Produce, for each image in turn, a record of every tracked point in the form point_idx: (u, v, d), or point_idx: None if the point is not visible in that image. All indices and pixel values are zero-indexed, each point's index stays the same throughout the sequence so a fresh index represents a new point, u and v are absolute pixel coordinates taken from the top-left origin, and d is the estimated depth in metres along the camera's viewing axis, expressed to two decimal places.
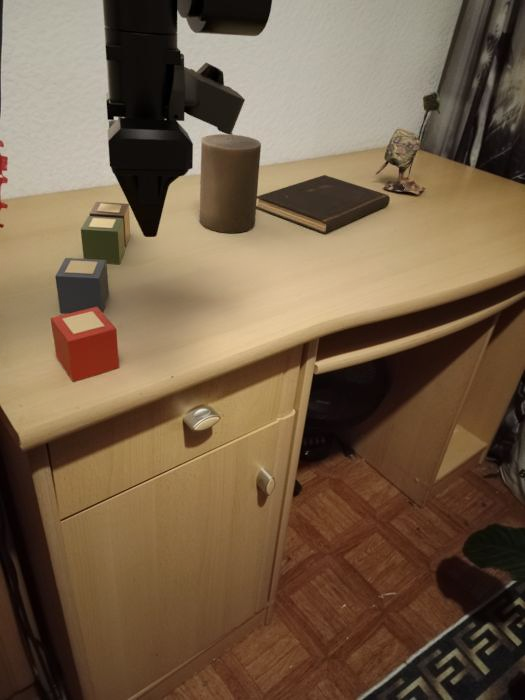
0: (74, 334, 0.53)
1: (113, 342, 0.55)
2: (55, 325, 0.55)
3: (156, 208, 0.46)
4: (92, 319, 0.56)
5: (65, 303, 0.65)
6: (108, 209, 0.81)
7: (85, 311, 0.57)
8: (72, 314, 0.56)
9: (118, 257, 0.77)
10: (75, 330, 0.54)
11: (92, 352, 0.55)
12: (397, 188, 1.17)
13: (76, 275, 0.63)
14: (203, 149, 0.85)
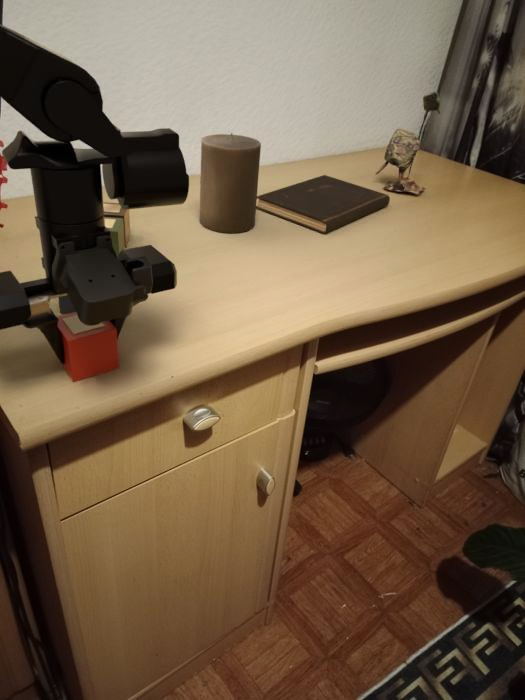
0: (74, 334, 0.53)
1: (113, 342, 0.55)
2: None
3: (49, 343, 0.53)
4: None
5: (65, 303, 0.65)
6: (108, 209, 0.81)
7: None
8: (72, 314, 0.56)
9: None
10: (75, 330, 0.54)
11: (92, 352, 0.55)
12: (397, 188, 1.17)
13: None
14: (203, 149, 0.85)
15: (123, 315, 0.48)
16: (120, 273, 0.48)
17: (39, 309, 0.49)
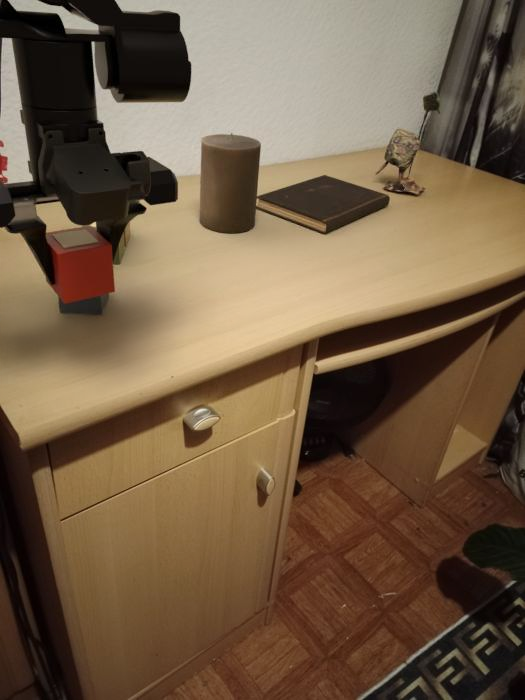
0: (65, 248, 0.48)
1: (108, 260, 0.50)
2: None
3: (37, 258, 0.48)
4: (84, 236, 0.51)
5: (65, 303, 0.65)
6: None
7: (77, 229, 0.52)
8: (63, 231, 0.51)
9: (118, 257, 0.77)
10: (66, 244, 0.49)
11: (85, 270, 0.49)
12: (397, 188, 1.17)
13: None
14: (203, 149, 0.85)
15: (118, 216, 0.43)
16: (114, 168, 0.42)
17: (24, 212, 0.44)
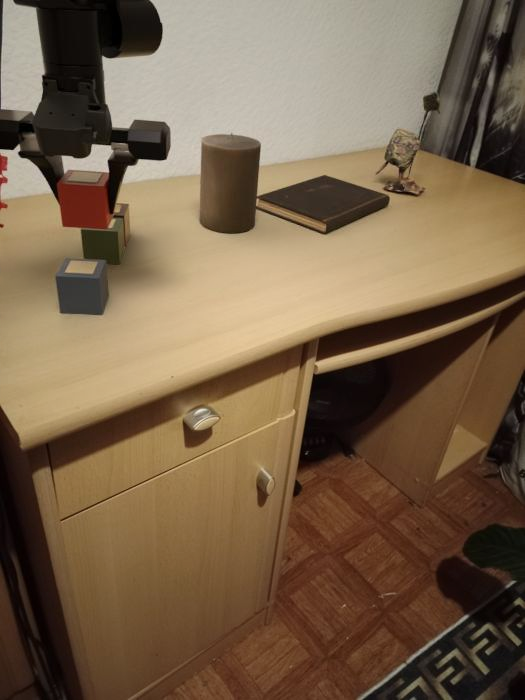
0: (68, 181, 0.59)
1: (100, 200, 0.60)
2: None
3: None
4: (94, 177, 0.61)
5: (65, 303, 0.65)
6: None
7: (98, 172, 0.62)
8: (85, 171, 0.62)
9: (118, 257, 0.77)
10: (71, 179, 0.60)
11: (80, 203, 0.60)
12: (397, 188, 1.17)
13: (76, 275, 0.63)
14: (203, 149, 0.85)
15: (75, 155, 0.52)
16: (81, 114, 0.51)
17: (32, 143, 0.56)
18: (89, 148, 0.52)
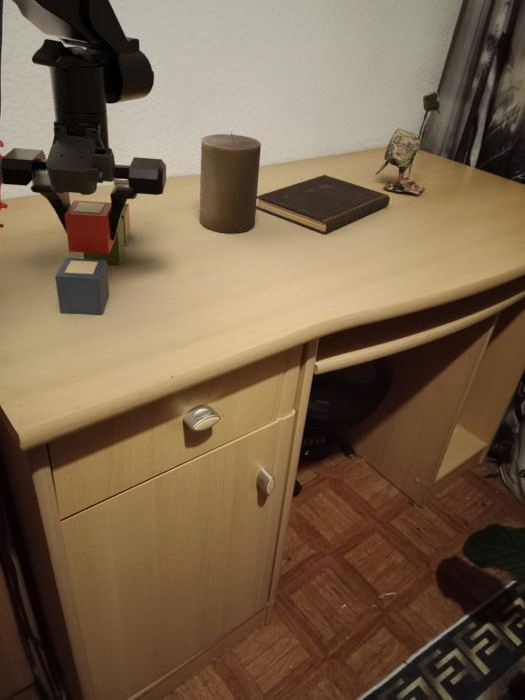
0: (74, 211, 0.66)
1: (103, 228, 0.67)
2: (71, 205, 0.69)
3: None
4: (98, 208, 0.68)
5: (65, 303, 0.65)
6: None
7: (100, 203, 0.70)
8: (90, 202, 0.70)
9: (118, 257, 0.77)
10: (77, 209, 0.67)
11: (85, 231, 0.67)
12: (397, 188, 1.17)
13: (76, 275, 0.63)
14: (203, 149, 0.85)
15: (83, 192, 0.59)
16: (88, 157, 0.58)
17: (43, 179, 0.64)
18: (95, 186, 0.60)
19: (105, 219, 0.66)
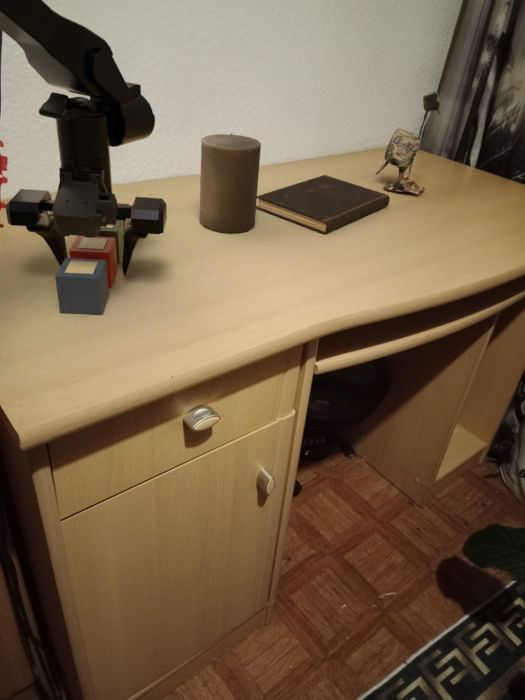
0: (78, 248, 0.69)
1: None
2: (75, 240, 0.71)
3: None
4: (100, 243, 0.71)
5: (65, 303, 0.65)
6: None
7: (103, 238, 0.72)
8: (93, 237, 0.72)
9: (118, 257, 0.77)
10: (81, 246, 0.70)
11: None
12: (397, 188, 1.17)
13: (76, 275, 0.63)
14: (203, 149, 0.85)
15: (87, 235, 0.62)
16: (92, 202, 0.61)
17: (39, 219, 0.66)
18: (99, 229, 0.63)
19: (108, 255, 0.69)
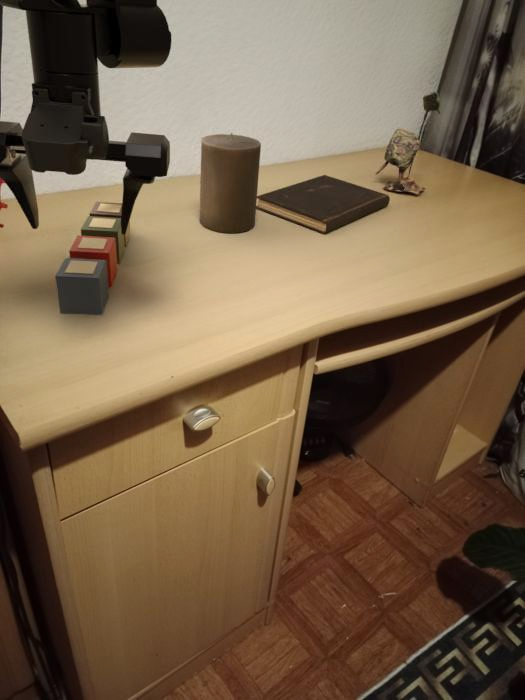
0: (78, 248, 0.69)
1: None
2: (75, 240, 0.71)
3: None
4: (100, 243, 0.71)
5: (65, 303, 0.65)
6: (108, 209, 0.81)
7: (103, 238, 0.72)
8: (93, 237, 0.72)
9: (118, 257, 0.77)
10: (81, 246, 0.70)
11: None
12: (397, 188, 1.17)
13: (76, 275, 0.63)
14: (203, 149, 0.85)
15: (69, 171, 0.47)
16: (75, 127, 0.47)
17: None
18: (84, 163, 0.48)
19: (108, 255, 0.69)
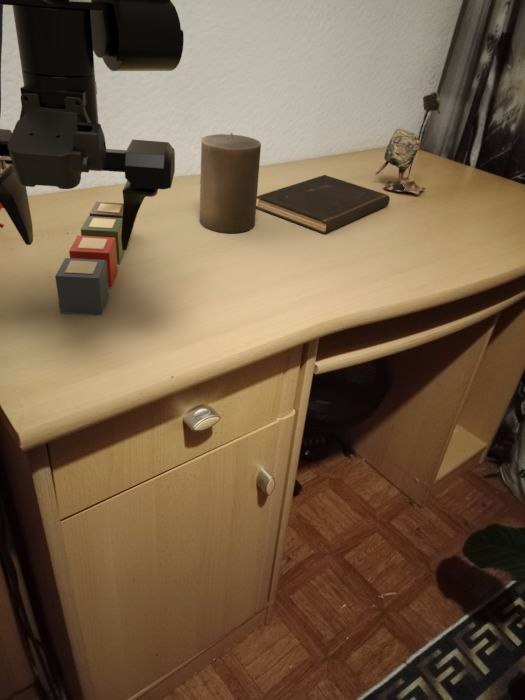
0: (78, 248, 0.69)
1: None
2: (75, 240, 0.71)
3: None
4: (100, 243, 0.71)
5: (65, 303, 0.65)
6: (108, 209, 0.81)
7: (103, 238, 0.72)
8: (93, 237, 0.72)
9: (118, 257, 0.77)
10: (81, 246, 0.70)
11: None
12: (397, 188, 1.17)
13: (76, 275, 0.63)
14: (203, 149, 0.85)
15: (61, 185, 0.43)
16: (68, 136, 0.42)
17: None
18: (78, 176, 0.43)
19: (108, 255, 0.69)
